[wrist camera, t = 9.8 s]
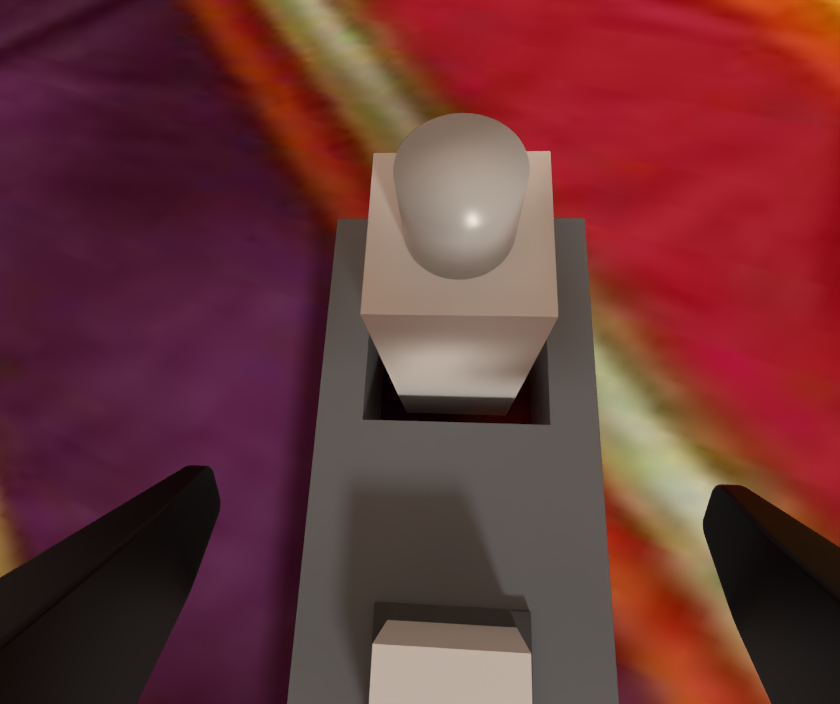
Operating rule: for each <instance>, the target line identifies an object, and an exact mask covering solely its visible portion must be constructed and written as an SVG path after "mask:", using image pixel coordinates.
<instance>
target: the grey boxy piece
mask: <svg viewBox="0 0 840 704" xmlns="http://www.w3.org/2000/svg"><path fill="white" fill-rule="evenodd" d="M367 228H368V219H338V222H337V231H336V241H335V251H334V260H333V270H332V279H331V289H330V298H329V308H328V317H327V327H326V337H325V346H324V356H323V365H322V375H321V384H320V394H319V403H318V413H317V423H316V432H315V442H314V451H313V461H312V470H311V480H310V489H309V499H308V509H307V518H306V528H305V537H304V547H303V556H302V566H301V575H300V585H299V594H298V604H297V614H296V623H295V633H294V642H293V652H292V661H291V671H290V680H289V690H288V700H287V704H619V699H618V685H617V671H616V656H615V642H614V628H613V614H612V600H611V586H610V572H609V558H608V543H607V529H606V515H605V501H604V487H603V473H602V459H601V444H600V430H599V416H598V402H597V388H596V374H595V360H594V345H593V331H592V317H591V303H590V289H589V275H588V261H587V247H586V232H585V218H554V236H555V257H556V277H557V298H558V319H557V320H556V322H555V324H554V326H553V328H552V330H551V332H550V334H549V336H548V337H547V339H546V341H545V343H544V345H543V347H542V349H541V351H540V353H539V354H538V356H537V358H536V360H535V362H534V364H533V366H532V368H531V369H530V402H531V424H498V423H463V422H428V421H393V420H381V411H382V396H383V380H384V364H383V362H382V359H381V357H380V355H379V353H378V351H377V349H376V347H375V345H374V342H373V340H372V338H371V336H370V334H369V332H368V330H367V327H366V325H365V323H364V321H363V319H362V317H361V315H360V312H361V300H362V288H363V276H364V264H365V252H366V240H367Z"/></svg>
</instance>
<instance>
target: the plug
mask: <svg viewBox="0 0 840 704" xmlns="http://www.w3.org/2000/svg"><path fill="white" fill-rule="evenodd" d="M360 315H361V317H362V319H363V321H364V323H365V325H366V327H367V330H368V332H369V334H370V336H371V338H372V340H373V342H374V345H375V347H376V349H377V351H378V353H379V355H380V357H381V359H382V362H383V364H384V366H385V368H386V370H387V372H388V374H389V377H390V379H391V381H392V383H393V385H394V387H395V389H396V391H397V394H398V396H399V398H400V400H401V402H402V404H403V406H404V409H405V411H406V413H430V414H466V415H502V416H506V415H507V413H508V411H509V409H510V407H511V405H512V403H513V402H514V400H515V398H516V396H517V394H518V392H519V390H520V388H521V386H522V385H523V383H524V381H525V379H526V377H527V375H528V373H529V371H530V369H531V368H532V366H533V364H534V362H535V360H536V358H537V356H538V354H539V353H540V351H541V349H542V347H543V345H544V343H545V341H546V339H547V337H548V336H549V334H550V332H551V330H552V328H553V326H554V324H555V322H556V320H557V319H558V298H557V277H556V257H555V236H554V215H553V195H552V174H551V154H550V151H526V150H525V147H524V145H523V144H522V142H521V140H520V139H519V138H518V137H517V135H516V134H515V133H514V132H513V131H512V130H510V129H509V128H508V127H507V126H505V125H504V124H502V123H500V122H498V121H497V120H495V119H492V118H489V117H487V116H483V115H479V114H472V113H454V114H448V115H443V116H440V117H436V118H434V119H431V120H429V121H427V122H425V123H423V124H422V125H420V126H419V127H417V128H416V129H415V130H413V131H412V132H411V133H410V134H409V135H408V136H407V137H406V139H405V140H404V141H403V143H402V144H401V146H400V147H399V149H398V151H397V153H374V156H373V168H372V180H371V192H370V204H369V216H368V228H367V240H366V252H365V264H364V276H363V288H362V300H361V312H360Z"/></svg>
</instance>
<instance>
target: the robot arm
mask: <svg viewBox="0 0 840 704" xmlns="http://www.w3.org/2000/svg"><path fill="white" fill-rule="evenodd" d="M219 511H220V496H219V492H218V488H217V484H216V480H215V476H214V473H213V470H212V469H211V468H210V467H208V466H198V465H190V466H186V467H184V468H182V469H181V470H179V471H177V472H176V473H174V474H172V475H171V476H169V477H167V478H166V479H164V480H162V481H161V482H159V483H157V484H156V485H154V486H152V487H151V488H149V489H147V490H146V491H144V492H142V493H141V494H139V495H137V496H136V497H134V498H132V499H131V500H129V501H127V502H126V503H124V504H122V505H121V506H119V507H117V508H116V509H114V510H112V511H111V512H109V513H107V514H106V515H104V516H102V517H101V518H99V519H97V520H96V521H94V522H92V523H91V524H89V525H87V526H86V527H84V528H82V529H81V530H79V531H77V532H76V533H74V534H72V535H71V536H69V537H67V538H66V539H64V540H62V541H61V542H59V543H57V544H56V545H54V546H52V547H51V548H49V549H47V550H46V551H44V552H42V553H41V554H39V555H37V556H36V557H34V558H32V559H30V560H29V561H27V562H25V563H24V564H22V565H20V566H19V567H17V568H15V569H14V570H12V571H10V572H9V573H7V574H5V575H4V576H2V577H0V704H136V703H137V701H138V699H139V697H140V695H141V693H142V691H143V689H144V687H145V685H146V683H147V680H148V678H149V676H150V674H151V672H152V670H153V668H154V666H155V664H156V662H157V660H158V658H159V656H160V653H161V651H162V649H163V647H164V645H165V643H166V641H167V639H168V637H169V635H170V633H171V631H172V629H173V627H174V624H175V622H176V620H177V618H178V616H179V614H180V612H181V610H182V608H183V606H184V604H185V602H186V599H187V597H188V595H189V593H190V591H191V588H192V586H193V583H194V581H195V578H196V575H197V573H198V570H199V567H200V564H201V561H202V559H203V556H204V553H205V550H206V548H207V545H208V542H209V539H210V537H211V534H212V531H213V528H214V526H215V523H216V520H217V517H218V514H219ZM703 530H704V535H705V538H706V541H707V544H708V547H709V550H710V553H711V556H712V559H713V562H714V564H715V567H716V570H717V573H718V576H719V579H720V582H721V585H722V588H723V591H724V594H725V597H726V600H727V603H728V606H729V609H730V611H731V614H732V617H733V619H734V622H735V624H736V626H737V629H738V631H739V633H740V636H741V638H742V640H743V642H744V644H745V647H746V649H747V651H748V653H749V655H750V658H751V660H752V662H753V664H754V666H755V668H756V671H757V673H758V675H759V677H760V679H761V682H762V684H763V686H764V688H765V690H766V693H767V695H768V697H769V699H770V701H771V703H772V704H840V547H838V546H837V545H835V544H834V543H832V542H831V541H829V540H827V539H826V538H824V537H823V536H821V535H820V534H818V533H816V532H815V531H813V530H812V529H810V528H809V527H807V526H805V525H804V524H802V523H801V522H799V521H798V520H796V519H794V518H793V517H791V516H790V515H788V514H787V513H785V512H783V511H782V510H780V509H779V508H777V507H776V506H774V505H772V504H771V503H769V502H768V501H766V500H765V499H763V498H762V497H760V496H758V495H757V494H755V493H754V492H752V491H751V490H749V489H747V488H746V487H744V486H740V485H717V486H715V488H714V489H713V491H712V493H711V497H710V500H709V503H708V506H707V509H706V512H705V516H704V519H703Z"/></svg>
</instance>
